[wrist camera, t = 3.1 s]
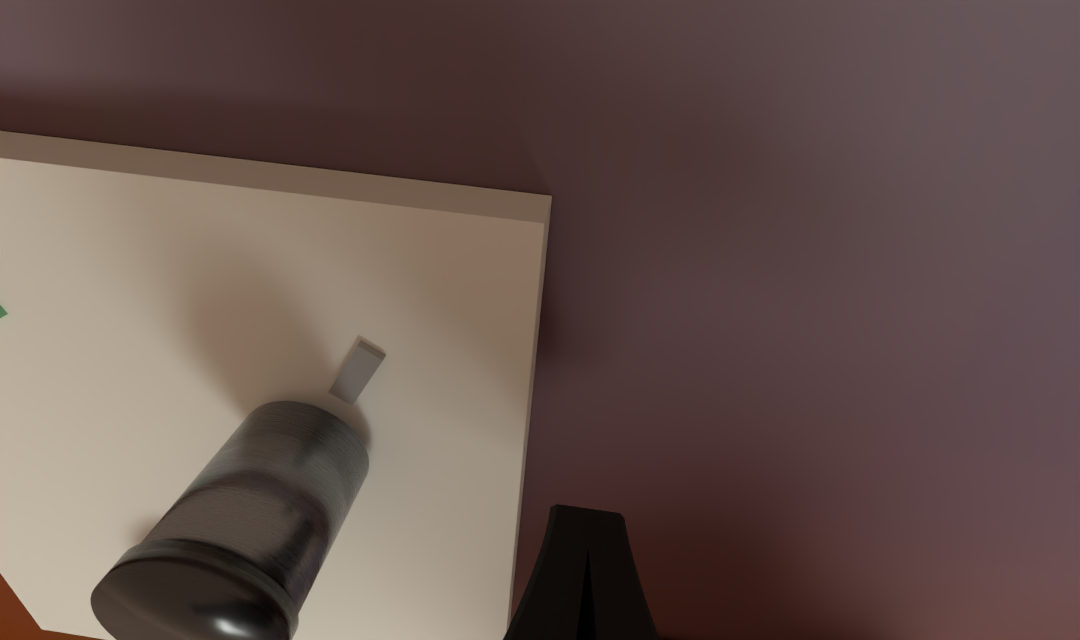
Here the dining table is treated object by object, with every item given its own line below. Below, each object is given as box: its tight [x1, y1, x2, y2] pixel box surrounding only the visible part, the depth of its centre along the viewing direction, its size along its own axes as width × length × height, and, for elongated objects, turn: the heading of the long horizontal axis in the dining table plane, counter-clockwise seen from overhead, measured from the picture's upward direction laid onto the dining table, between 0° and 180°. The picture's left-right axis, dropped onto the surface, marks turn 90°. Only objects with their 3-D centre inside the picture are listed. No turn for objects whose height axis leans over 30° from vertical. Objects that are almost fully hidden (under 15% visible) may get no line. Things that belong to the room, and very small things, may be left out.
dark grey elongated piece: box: [90, 401, 369, 640], centre depth 13 cm, size 12×4×4 cm, turn 145°
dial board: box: [0, 131, 552, 640], centre depth 15 cm, size 17×18×2 cm
